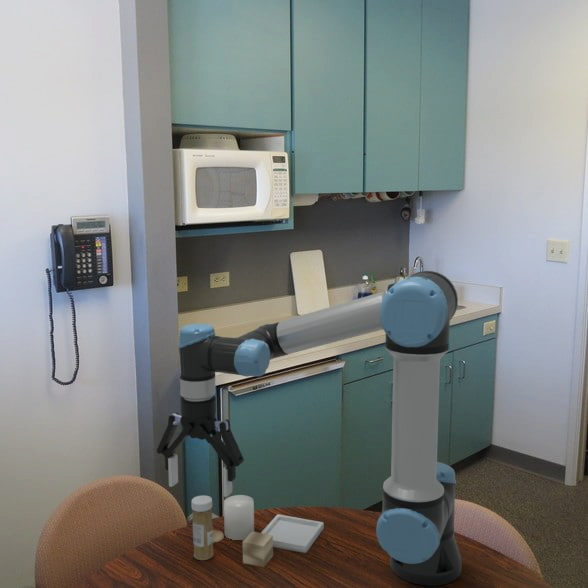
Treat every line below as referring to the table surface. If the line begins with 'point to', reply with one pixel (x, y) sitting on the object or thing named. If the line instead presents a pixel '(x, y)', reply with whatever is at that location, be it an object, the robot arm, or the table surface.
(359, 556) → the table surface
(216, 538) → the cork coaster
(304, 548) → the tray
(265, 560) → the maple block
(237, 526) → the frosted white cylinder
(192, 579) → the table surface
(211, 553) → the sprinkles bottle
